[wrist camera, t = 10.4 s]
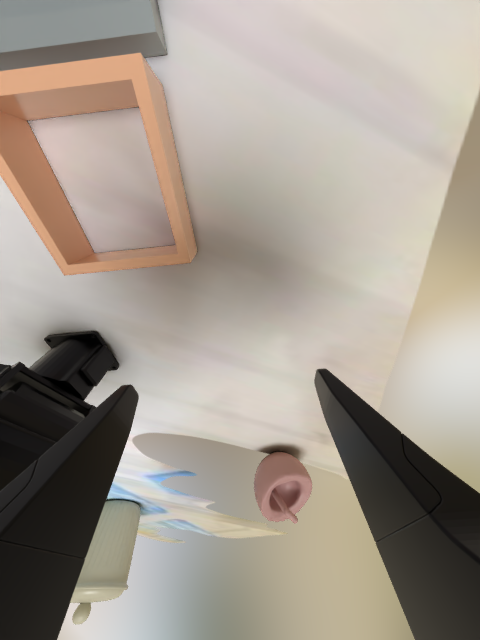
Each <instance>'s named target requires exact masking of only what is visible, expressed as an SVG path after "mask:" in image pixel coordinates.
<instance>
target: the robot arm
mask: <svg viewBox="0 0 480 640" xmlns="http://www.w3.org/2000/svg"><path fill="white" fill-rule="evenodd" d="M44 340H45V341H46V343H47V344H48V345H49V346H50V347H51V348H52V349H51V350H49V351H48V352H47V353H46V354H45V355H44V356H42V357H41V358H40V359H39V360H38V361H37V362H35V363H34V364H33V365H32V366H31V367H30V368H27V367H25V365H24V364H23V363H21V362H18V363H16V364H15V365H13V366H10V365H3V364H0V640H57V638H58V635H59V632H60V630H61V626H62V624H63V621H64V618H65V615H66V613H67V609H68V607H69V604H70V601H71V598H72V596H73V593H74V590H75V587H76V584H77V581H78V579H79V576H80V573H81V570H82V567H83V565H84V562H85V558H86V556H87V553H88V550H89V547H90V544H91V541H92V539H93V536H94V533H95V530H96V527H97V524H98V522H99V519H100V516H101V513H102V510H103V507H104V505H105V502H106V499H107V496H108V493H109V490H110V488H111V485H112V482H113V479H114V476H115V473H116V471H117V468H118V465H119V462H120V459H121V456H122V454H123V451H124V448H125V445H126V442H127V440H128V437H129V434H130V431H131V427H132V423H133V419H134V415H135V411H136V407H137V403H138V398H139V397H138V393H137V392H136V390H135V389H134V387H133V386H132V385H123V386H121V387H120V388H118V389H117V390H116V391H115V392H114V393H113V394H112V395H110V396H109V397H108V398H107V399H106V400H105V401H104V402H102V403H101V404H100V405H99V406H98V407H97V408H96V407H95V406H93V405H90V404H88V403H86V402H85V401H83V400H85V398H86V397H87V396H88V394H89V393H90V392H91V390H92V389H93V387H94V386H97V385H98V383H99V382H100V381H101V379H102V378H103V376H104V375H105V374H106V372H107V371H111V370H117V369H118V368H119V364H118V363H117V361H116V360H115V358H114V357H113V355H112V354H111V352H110V351H109V349H108V347H107V346H106V344H105V343H104V341H103V340H102V338H101V337H100V335H99V334H98V333H97V332H95V331H91V332H80V333H69V334H58V335H48V336H47V337H45V338H44ZM314 382H315V387H316V390H317V394H318V397H319V401H320V404H321V408H322V411H323V414H324V417H325V420H326V423H327V425H328V427H329V430H330V432H331V435H332V437H333V440H334V442H335V445H336V447H337V449H338V452H339V454H340V457H341V459H342V462H343V464H344V467H345V469H346V471H347V474H348V476H349V479H350V481H351V484H352V486H353V489H354V491H355V494H356V496H357V498H358V501H359V503H360V505H361V508H362V511H363V513H364V516H365V518H366V520H367V523H368V525H369V528H370V530H371V533H372V535H373V537H374V540H375V542H376V545H377V548H378V550H379V553H380V555H381V557H382V560H383V562H384V565H385V567H386V569H387V572H388V575H389V577H390V580H391V582H392V584H393V587H394V589H395V591H396V594H397V597H398V599H399V601H400V604H401V606H402V609H403V611H404V614H405V616H406V618H407V621H408V624H409V626H410V629H411V631H412V633H413V636H414V638H415V640H480V493H478V492H477V491H476V490H474V489H473V488H471V487H470V486H469V485H468V484H466V483H465V482H464V481H462V480H461V479H459V478H458V477H457V476H456V475H454V474H453V473H452V472H450V471H449V470H448V469H446V468H445V467H444V466H442V465H441V464H440V463H438V462H437V461H436V460H435V459H433V458H432V457H431V456H429V455H428V454H427V453H426V452H424V451H423V450H422V449H421V448H420V447H418V446H417V445H416V444H415V443H414V442H412V441H411V440H410V439H409V438H407V437H406V436H405V435H404V434H401V432H400V431H399V430H398V429H397V428H396V427H394V426H393V425H392V424H391V423H390V422H389V421H387V420H386V419H385V418H384V417H383V416H381V415H380V414H379V413H378V412H377V411H376V410H374V409H373V408H372V407H371V406H370V405H368V404H367V403H366V402H365V401H364V400H363V399H361V398H360V397H359V396H358V395H357V394H355V393H354V392H353V391H352V390H351V389H350V388H348V387H347V386H346V385H345V384H344V383H342V382H341V381H340V380H339V379H338V378H337V377H335V376H334V375H333V374H332V373H331V372H329V371H328V370H327V369H317V371H316V375H315V380H314Z"/></svg>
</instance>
